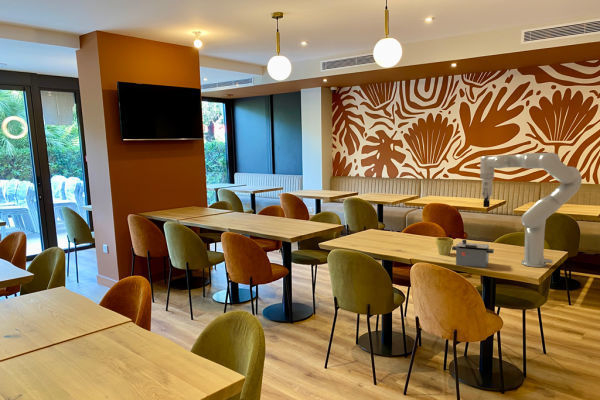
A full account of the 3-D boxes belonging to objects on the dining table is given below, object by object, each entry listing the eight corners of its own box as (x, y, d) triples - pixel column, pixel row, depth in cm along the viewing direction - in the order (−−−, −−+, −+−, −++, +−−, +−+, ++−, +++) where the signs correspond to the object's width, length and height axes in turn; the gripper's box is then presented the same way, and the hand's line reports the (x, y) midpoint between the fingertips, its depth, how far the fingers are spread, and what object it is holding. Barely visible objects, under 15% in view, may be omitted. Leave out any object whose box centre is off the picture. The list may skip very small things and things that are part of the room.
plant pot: (454, 256, 270) (454, 240, 269) (436, 255, 272) (437, 240, 271) (451, 252, 280) (452, 237, 279) (435, 251, 282) (435, 237, 281)
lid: (488, 246, 251) (489, 240, 251) (486, 248, 239) (486, 243, 239) (459, 243, 259) (459, 238, 259) (455, 246, 247) (456, 241, 247)
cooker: (494, 263, 251) (494, 246, 250) (491, 268, 240) (492, 251, 239) (454, 259, 262) (454, 243, 260) (450, 264, 251) (450, 247, 250)
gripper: (492, 177, 250) (491, 209, 252) (495, 175, 263) (494, 205, 265) (478, 177, 254) (478, 208, 256) (481, 175, 267) (481, 205, 269)
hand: (486, 207), depth 260 cm, fingers closed
